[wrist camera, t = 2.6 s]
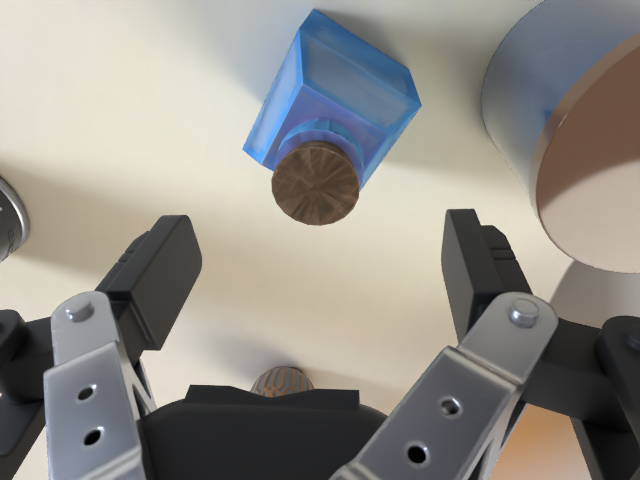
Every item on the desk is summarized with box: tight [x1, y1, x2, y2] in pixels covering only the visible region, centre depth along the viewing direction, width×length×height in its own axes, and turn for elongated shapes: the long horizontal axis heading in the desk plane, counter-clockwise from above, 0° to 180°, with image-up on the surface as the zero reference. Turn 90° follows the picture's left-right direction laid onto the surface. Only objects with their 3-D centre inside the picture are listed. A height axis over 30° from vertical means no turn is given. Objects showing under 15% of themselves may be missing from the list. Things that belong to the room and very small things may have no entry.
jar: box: [481, 0, 640, 274], centre depth 19 cm, size 10×10×10 cm
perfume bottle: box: [242, 9, 422, 226], centre depth 19 cm, size 6×6×12 cm
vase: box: [250, 367, 314, 397], centre depth 38 cm, size 7×7×9 cm
